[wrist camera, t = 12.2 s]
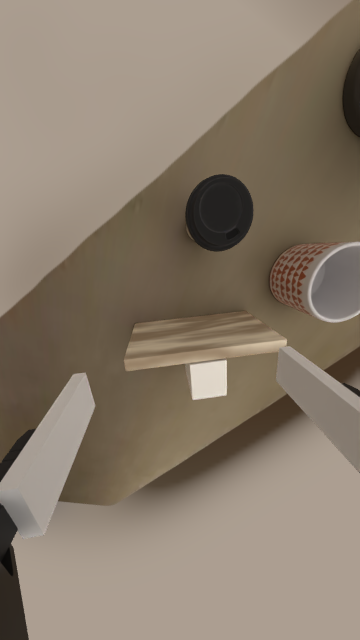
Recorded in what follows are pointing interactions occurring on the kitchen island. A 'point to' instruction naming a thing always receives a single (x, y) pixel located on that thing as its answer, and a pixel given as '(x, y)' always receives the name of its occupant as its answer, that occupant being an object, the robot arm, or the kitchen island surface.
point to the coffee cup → (219, 212)
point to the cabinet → (207, 378)
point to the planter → (319, 280)
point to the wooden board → (199, 340)
